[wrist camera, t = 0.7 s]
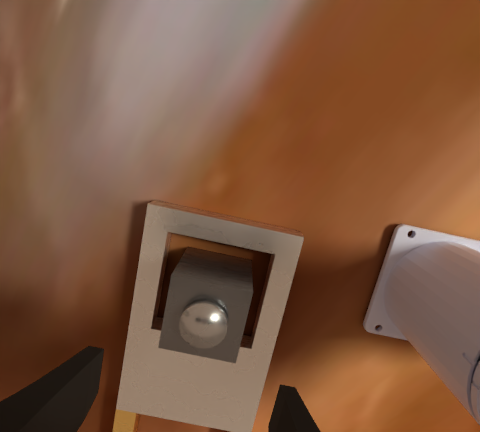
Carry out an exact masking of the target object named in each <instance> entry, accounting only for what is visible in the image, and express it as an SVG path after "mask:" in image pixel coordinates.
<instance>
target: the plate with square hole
mask: <svg viewBox="0 0 480 432" xmlns="http://www.w3.org/2000/svg"><path fill="white" fill-rule="evenodd" d="M172 233H177V234H181V235H186V236H191V237H196V238H200V239H205V240H210V241H214V242H219V243H224V244H228V245H233V246H238V247H243V248H247V249H252V250H257V251H261V252H266V253H271V254H272V255H271V259H270V263H269V267H268V271H267V275H266V279H265V283H264V287H263V291H262V294H261V298H260V302H259V306H258V310H257V314H256V318H255V322H254V326H253V330H252V334H251V336H248V335H243V336H242V340H241V344H240V348H239V353H238V357H237V361H236V363H231V362H226V361H221V360H216V359H211V358H206V357H201V356H196V355H191V354H186V353H181V352H176V351H171V350H166V349H162V348H158V346H159V340H160V335H161V329H162V323H163V318H159V317H157V314H158V309H159V303H160V297H161V291H162V286H163V280H164V274H165V269H166V263H167V257H168V252H169V246H170V240H171V234H172ZM303 240H304V236H303V235H302V233H301V232H300V231H297V230H293V229H288V228H283V227H279V226H274V225H269V224H265V223H260V222H256V221H251V220H246V219H242V218H237V217H232V216H228V215H223V214H218V213H214V212H209V211H204V210H200V209H195V208H190V207H186V206H181V205H177V204H172V203H167V202H163V201H158V200H153V201H152V202H150V203H148V205H147V212H146V218H145V225H144V231H143V238H142V244H141V251H140V257H139V264H138V270H137V276H136V283H135V289H134V296H133V302H132V309H131V315H130V322H129V328H128V335H127V341H126V348H125V354H124V360H123V367H122V373H121V380H120V386H119V393H118V399H117V406H116V412H115V419H114V425H113V432H137V428H138V423H139V417H140V414H143V415H149V416H154V417H159V418H164V419H169V420H174V421H179V422H184V423H190V424H195V425H200V426H205V427H210V428H215V429H220V430H226V431H227V432H251V431H252V428H253V424H254V420H255V417H256V413H257V409H258V406H259V402H260V398H261V395H262V391H263V387H264V384H265V380H266V376H267V372H268V369H269V365H270V361H271V358H272V354H273V350H274V347H275V343H276V339H277V336H278V332H279V328H280V325H281V321H282V317H283V314H284V310H285V306H286V303H287V299H288V295H289V292H290V288H291V284H292V281H293V277H294V273H295V270H296V266H297V262H298V259H299V255H300V251H301V247H302V244H303Z"/></svg>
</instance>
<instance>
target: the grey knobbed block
mask: <svg viewBox="0 0 480 432" xmlns="http://www.w3.org/2000/svg"><path fill="white" fill-rule="evenodd" d="M252 295H253V278H252V260H249V259H244V258H240V257H235V256H230V255H226V254H221V253H216V252H211V251H207V250H202V249H197V248H192V247H187V249H186V251H185V252H184V254H183V256H182V258H181V259H180V261H179V263H178V264H177V266H176V268H175V270H174V271H173V273H172V275H171V279H170V285H169V290H168V296H167V301H166V307H165V312H164V318H163V323H162V329H161V335H160V340H159V346H158V348H162V349H166V350H171V351H176V352H181V353H186V354H191V355H196V356H201V357H206V358H211V359H216V360H221V361H226V362H231V363H236V361H237V357H238V353H239V348H240V344H241V340H242V336H243V332H244V328H245V324H246V320H247V316H248V312H249V308H250V304H251V299H252Z"/></svg>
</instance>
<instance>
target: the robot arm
mask: <svg viewBox="0 0 480 432" xmlns="http://www.w3.org/2000/svg"><path fill="white" fill-rule="evenodd" d="M411 230H412V231H413V232H412V235H411V236H408V232H409V231H411ZM377 325H380V327H379V328H375V327H376V326H377ZM363 327H364V329H365V330H366V331H367V332H369V333H374V334H378V335H383V336H388V337H393V338H398V339H403V340H407V341H409V342H410V343H411V345H412V346H413V347H414V348H415V349H416V350H417V352H418V353H419V354H420V355H421V356H422V358H423V359H424V360H425V361H426V362H427V363H428V365H429V366H430V367H431V368H432V369H433V371H434V372H435V373H436V374H437V375H438V376H439V378H440V379H441V380H442V381H443V382H444V384H445V385H446V386H447V387H448V388H449V390H450V391H451V392H452V393H453V394H454V395H455V397H456V398H457V399H458V400H459V401H460V403H461V404H462V405H463V406H464V407H465V408H466V410H467V411H468V412H469V413H470V414H471V416H472V417H473V418H474V419H475V420H476V421H477V423H478V424H479V425H480V241H479V240H474V239H470V238H465V237H461V236H456V235H452V234H447V233H442V232H438V231H433V230H429V229H424V228H419V227H415V226H410V225H406V224H400V225H398V226H397V227H396V228H395V230H394V232H393V235H392V238H391V241H390V244H389V247H388V250H387V253H386V256H385V259H384V262H383V265H382V268H381V271H380V274H379V277H378V280H377V283H376V286H375V289H374V292H373V295H372V298H371V301H370V304H369V307H368V310H367V313H366V316H365V319H364V322H363ZM103 353H104V349H102V348H97V347H92V346H88V347H86V348H85V349H83V350H82V351H80V352H79V353H77V354H76V355H75V356H73V357H72V358H70V359H69V360H67V361H66V362H64V363H63V364H61V365H60V366H59V367H57V368H55V369H54V370H52V371H51V372H49V373H48V374H46V375H45V376H43V377H42V378H40V379H39V380H37V381H35V382H34V383H32V384H30V385H29V386H27V387H25V388H24V389H22V390H20V391H19V392H17V393H15V394H14V395H12V396H10V397H8V398H7V399H5V400H3V401H1V402H0V432H77V430H78V429H79V427H80V426H81V424H82V422H83V421H84V419H85V417H86V415H87V413H88V411H89V410H90V408H91V406H92V403H93V401H94V399H95V397H96V395H97V393H98V389H99V382H100V374H101V367H102V360H103ZM269 432H320V430H319V428H318V427H317V425H316V423H315V422H314V420H313V418H312V417H311V415H310V413H309V411H308V410H307V408H306V406H305V404H304V402H303V401H302V399H301V397H300V395H299V393H298V392H297V390H296V388H295V387H290V386H285V385H280V387H279V391H278V394H277V398H276V401H275V405H274V408H273V412H272V415H271V419H270V422H269Z"/></svg>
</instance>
